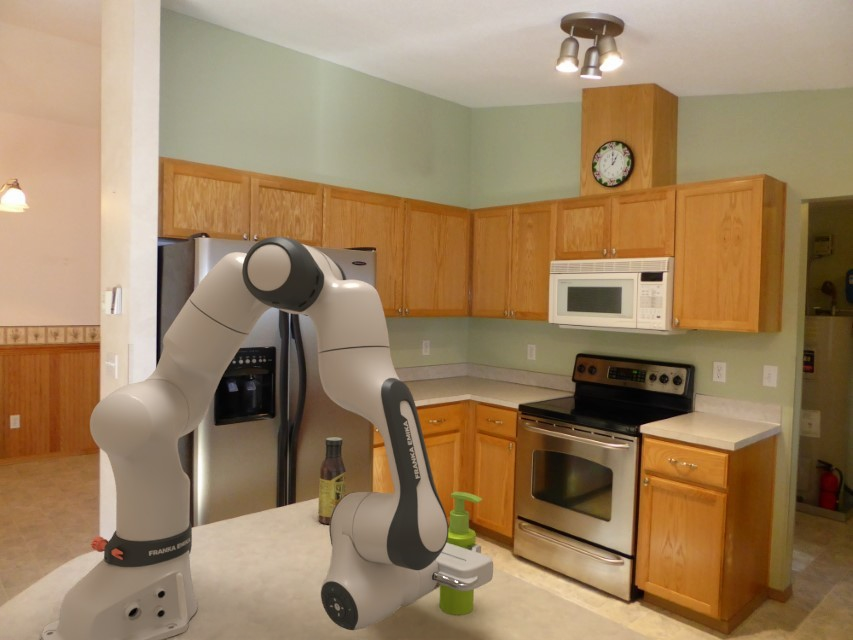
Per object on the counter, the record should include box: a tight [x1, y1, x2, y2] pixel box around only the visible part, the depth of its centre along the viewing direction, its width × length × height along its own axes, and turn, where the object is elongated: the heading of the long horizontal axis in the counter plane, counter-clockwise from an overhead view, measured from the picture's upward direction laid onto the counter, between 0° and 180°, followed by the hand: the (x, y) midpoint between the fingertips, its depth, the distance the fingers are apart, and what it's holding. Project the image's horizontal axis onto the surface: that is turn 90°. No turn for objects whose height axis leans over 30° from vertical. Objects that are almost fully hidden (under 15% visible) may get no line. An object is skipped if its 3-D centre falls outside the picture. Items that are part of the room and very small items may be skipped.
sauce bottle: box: [317, 436, 347, 525], centre depth 146 cm, size 7×6×20 cm
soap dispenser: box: [439, 491, 483, 616], centre depth 105 cm, size 6×7×20 cm
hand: (460, 543), depth 106 cm, fingers closed on soap dispenser, 6 cm apart
